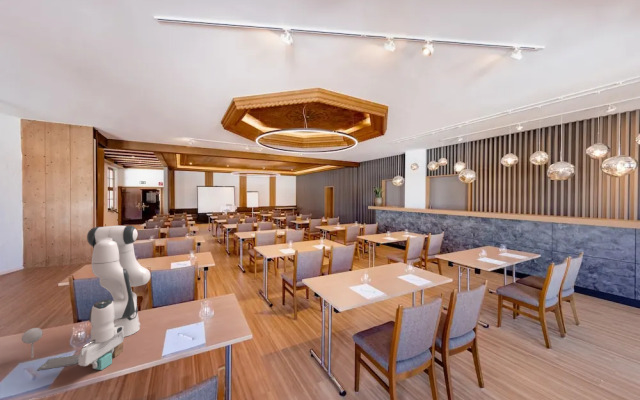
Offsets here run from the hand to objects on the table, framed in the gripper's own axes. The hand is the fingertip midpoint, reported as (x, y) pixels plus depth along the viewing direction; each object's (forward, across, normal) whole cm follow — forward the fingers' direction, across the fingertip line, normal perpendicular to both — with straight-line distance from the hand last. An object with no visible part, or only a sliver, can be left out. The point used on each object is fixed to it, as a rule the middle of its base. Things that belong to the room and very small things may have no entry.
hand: (102, 362), depth 122 cm
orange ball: (+2, +2, +9) cm, 9 cm away
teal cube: (+2, 0, 0) cm, 2 cm away
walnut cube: (+2, +9, +3) cm, 10 cm away
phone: (+3, +1, +22) cm, 22 cm away
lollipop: (+2, +2, +42) cm, 42 cm away
